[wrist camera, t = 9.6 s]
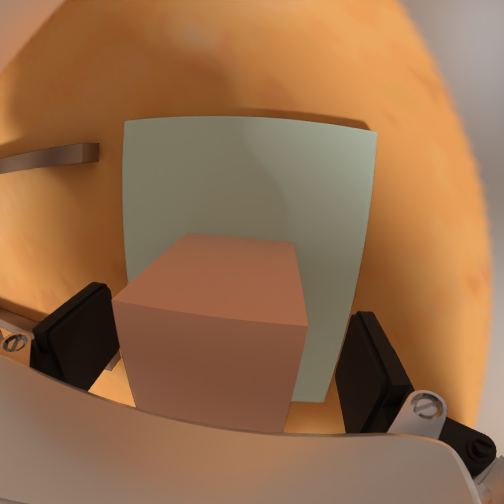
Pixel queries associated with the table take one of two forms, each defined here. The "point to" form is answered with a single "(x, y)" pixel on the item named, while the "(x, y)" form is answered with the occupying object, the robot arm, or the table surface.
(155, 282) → the block
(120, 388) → the table surface
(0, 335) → the lane rack
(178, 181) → the mat
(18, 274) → the table surface
